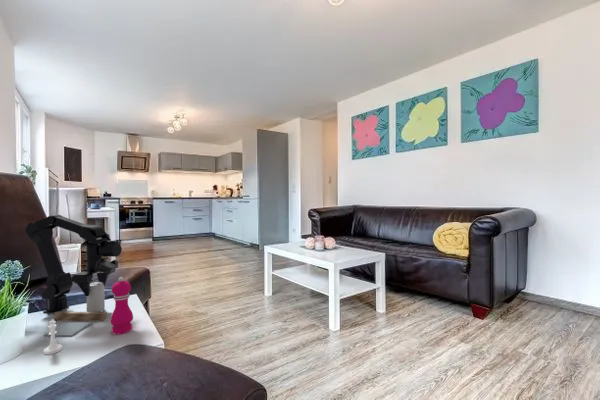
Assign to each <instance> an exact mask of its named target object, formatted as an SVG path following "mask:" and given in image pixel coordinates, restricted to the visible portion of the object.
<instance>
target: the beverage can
mask: <svg viewBox="0 0 600 400" xmlns="http://www.w3.org/2000/svg"><path fill="white" fill-rule="evenodd" d="M85 297H86V312H101V311H102V312H104V310H105V309H106V308H105V304H106V302H105V300H106V299H105V287H104V285H103V282H99V281H95V282H91V283H90V292H89V296H85Z"/></svg>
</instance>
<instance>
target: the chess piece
mask: <svg viewBox="0 0 600 400" xmlns="http://www.w3.org/2000/svg"><path fill="white" fill-rule="evenodd" d="M56 323H57V322H56V321H55V318H54V319H50V321H48V324H50V325H48V329H49V332H50V331H51V332H50V333H49V335H51V336H50V340H49V341H50V342H49V345H48V346H47V347H45V348H44V349H43V352H42V354H44V355H52V354H55V353H57V352H60V351H62V350H63V348H64V347H63V345H62V344H60V343H57V341H56V336H55V334H56V333H57V331H55V329H56V328H57V324H56Z"/></svg>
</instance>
